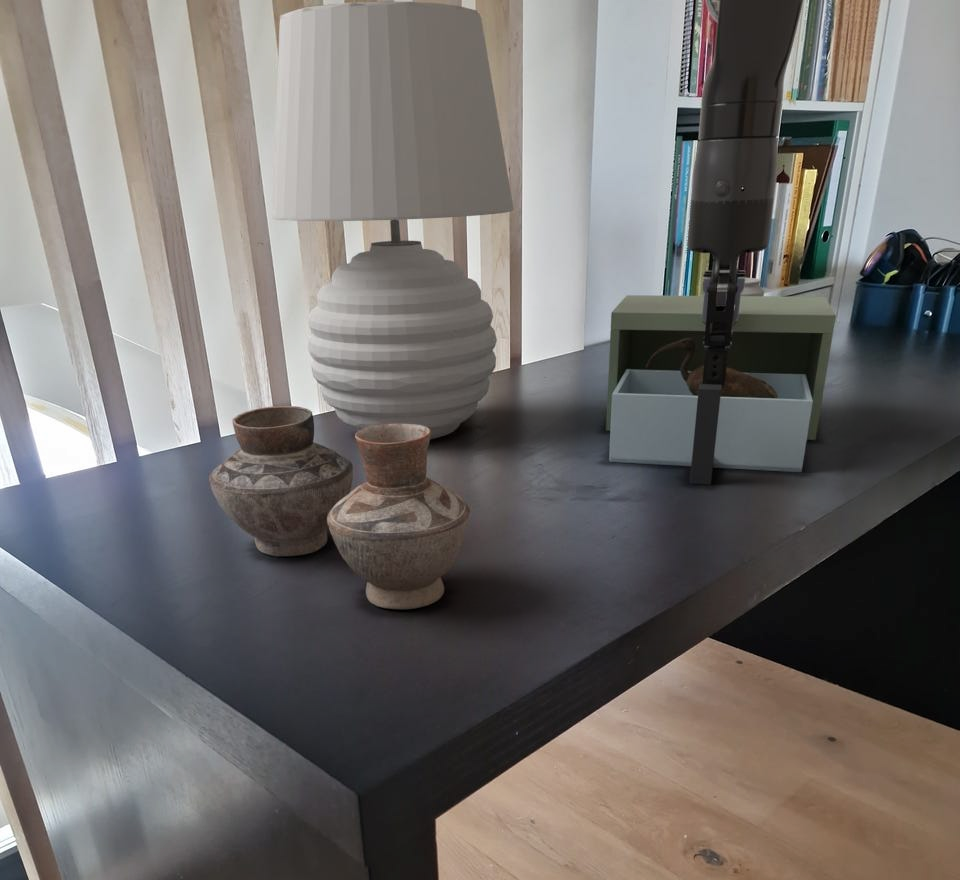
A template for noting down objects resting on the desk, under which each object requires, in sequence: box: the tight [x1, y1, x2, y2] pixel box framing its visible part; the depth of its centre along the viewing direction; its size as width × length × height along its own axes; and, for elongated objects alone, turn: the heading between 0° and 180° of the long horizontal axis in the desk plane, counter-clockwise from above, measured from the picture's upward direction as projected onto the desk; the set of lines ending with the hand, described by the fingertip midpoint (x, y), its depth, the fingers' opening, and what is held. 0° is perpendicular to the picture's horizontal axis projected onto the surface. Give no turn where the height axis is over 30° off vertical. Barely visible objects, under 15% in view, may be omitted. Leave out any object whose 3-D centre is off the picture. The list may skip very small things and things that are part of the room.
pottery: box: [208, 405, 471, 610], centre depth 64 cm, size 11×25×12 cm, turn 46°
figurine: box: [646, 338, 778, 399], centre depth 88 cm, size 14×4×9 cm, turn 87°
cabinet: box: [605, 294, 837, 441], centre depth 99 cm, size 14×23×13 cm, turn 75°
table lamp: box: [272, 1, 514, 441], centre depth 92 cm, size 25×25×40 cm
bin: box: [608, 369, 813, 486], centre depth 87 cm, size 18×19×9 cm
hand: (714, 381), depth 88 cm, fingers closed on figurine, 4 cm apart
